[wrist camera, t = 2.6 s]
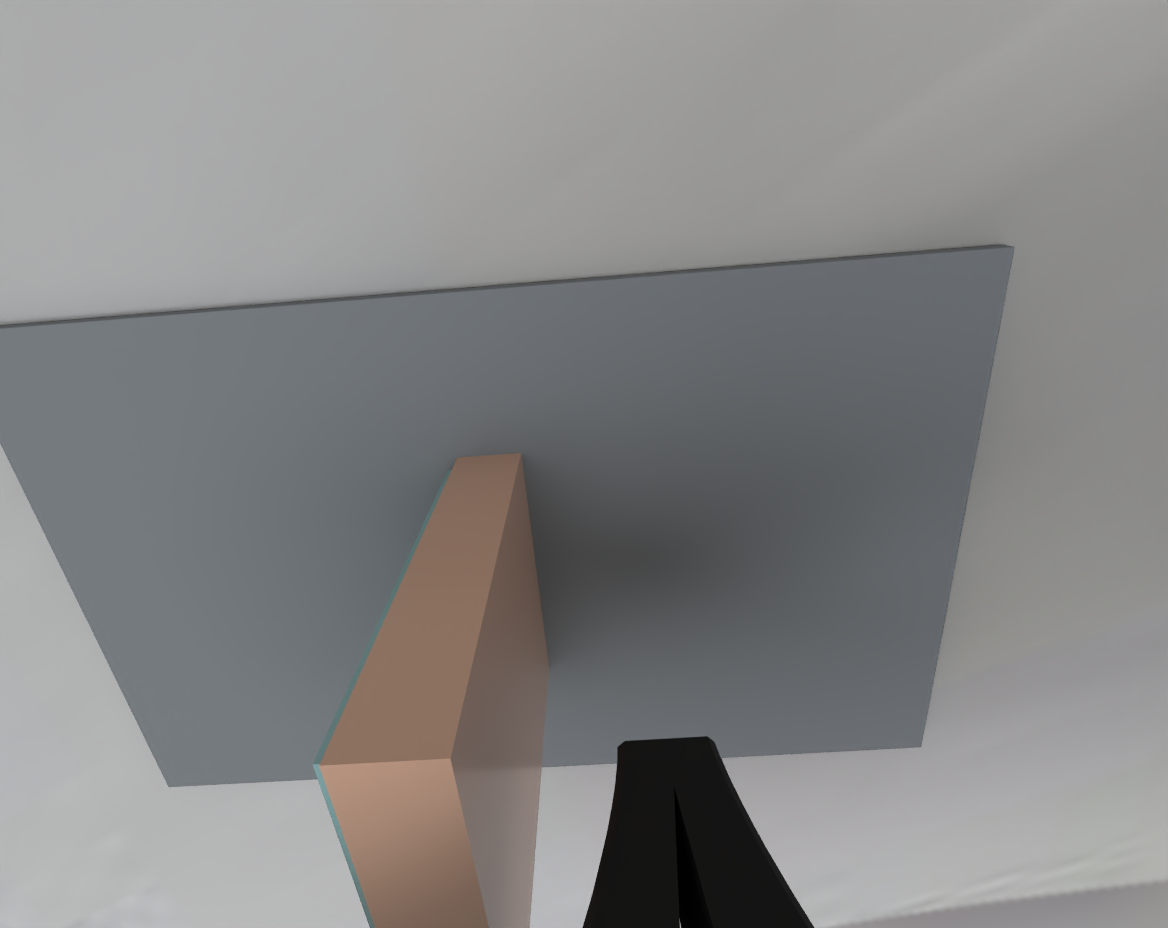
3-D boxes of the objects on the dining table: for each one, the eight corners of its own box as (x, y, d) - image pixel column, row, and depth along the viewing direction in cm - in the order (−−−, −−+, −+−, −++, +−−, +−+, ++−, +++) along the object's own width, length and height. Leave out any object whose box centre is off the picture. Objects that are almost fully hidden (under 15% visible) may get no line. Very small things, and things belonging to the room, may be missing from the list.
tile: (521, 452, 14) (451, 759, 7) (549, 667, 17) (518, 1059, 9) (448, 458, 14) (300, 766, 7) (487, 672, 17) (408, 1064, 9)
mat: (1002, 244, 13) (1014, 246, 12) (914, 735, 18) (921, 747, 18) (-37, 328, 13) (-54, 333, 13) (176, 775, 19) (168, 787, 18)
